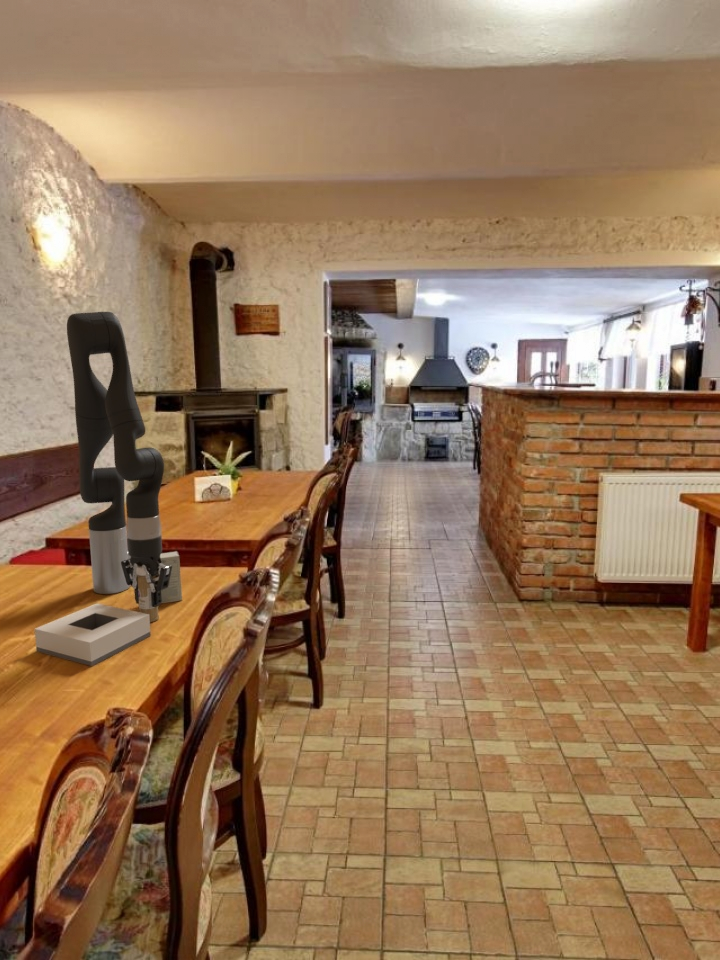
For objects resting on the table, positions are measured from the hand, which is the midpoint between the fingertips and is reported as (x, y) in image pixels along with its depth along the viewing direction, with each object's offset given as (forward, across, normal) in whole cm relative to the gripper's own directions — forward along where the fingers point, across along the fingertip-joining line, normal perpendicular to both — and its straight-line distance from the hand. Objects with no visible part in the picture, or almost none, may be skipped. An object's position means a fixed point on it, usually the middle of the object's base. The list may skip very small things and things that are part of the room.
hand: (148, 604), depth 143 cm
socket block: (+4, +1, +15) cm, 15 cm away
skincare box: (+4, +5, -12) cm, 14 cm away
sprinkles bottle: (+4, 0, 0) cm, 4 cm away
